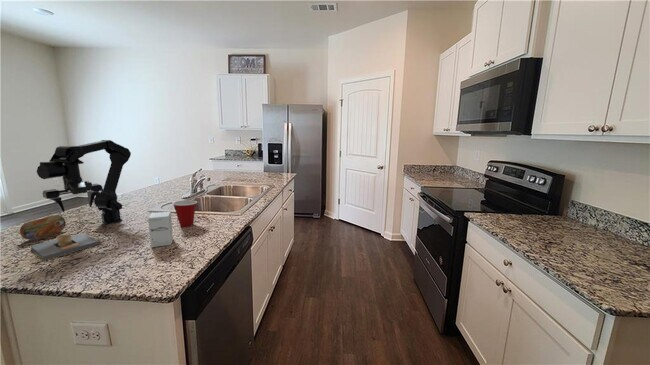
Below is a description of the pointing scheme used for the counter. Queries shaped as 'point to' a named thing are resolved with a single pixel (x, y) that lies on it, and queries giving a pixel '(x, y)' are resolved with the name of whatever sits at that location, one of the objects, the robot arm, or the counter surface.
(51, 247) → the hole plate
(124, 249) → the counter surface
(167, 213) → the supplement box
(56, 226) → the tin
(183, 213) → the plastic cup
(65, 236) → the peg
